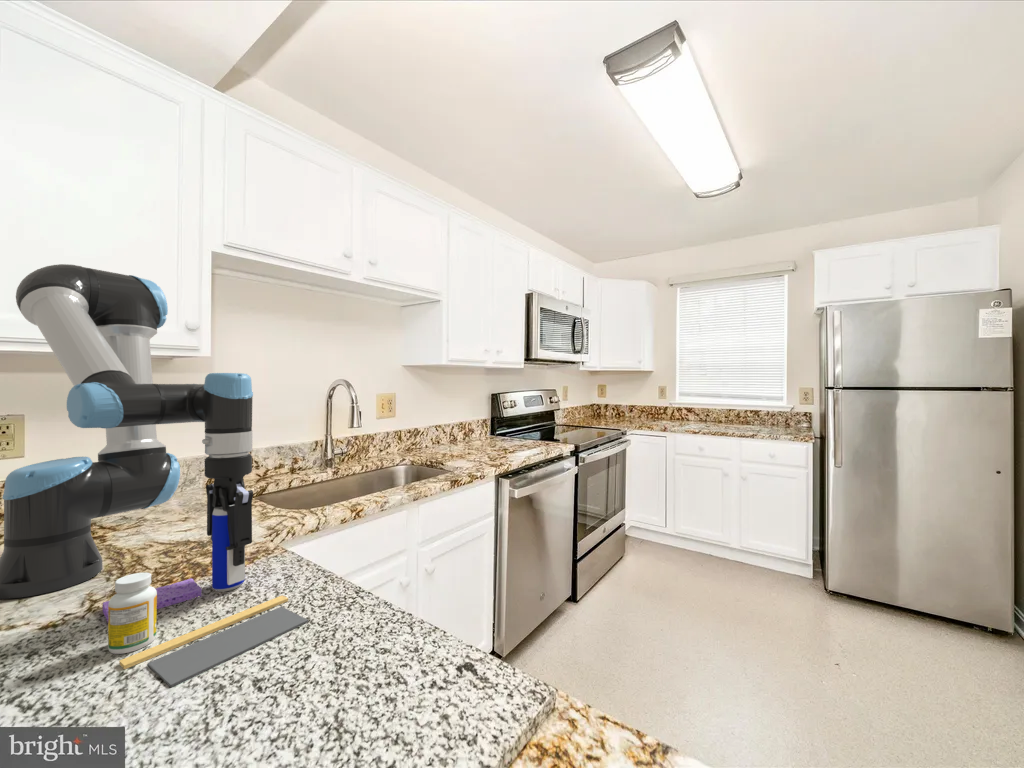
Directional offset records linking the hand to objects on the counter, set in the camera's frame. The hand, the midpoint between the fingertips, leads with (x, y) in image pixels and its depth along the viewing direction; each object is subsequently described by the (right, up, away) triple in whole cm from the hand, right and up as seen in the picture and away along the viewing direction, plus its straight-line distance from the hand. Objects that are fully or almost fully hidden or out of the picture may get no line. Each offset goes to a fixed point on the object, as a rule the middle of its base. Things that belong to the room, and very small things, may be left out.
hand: (228, 577), depth 81 cm
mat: (+13, -1, -18) cm, 22 cm away
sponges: (-9, -2, -6) cm, 11 cm away
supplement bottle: (-2, -2, -18) cm, 19 cm away
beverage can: (0, -2, 0) cm, 2 cm away
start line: (+7, -1, -15) cm, 16 cm away
